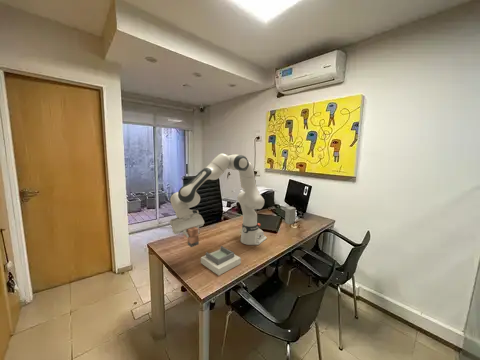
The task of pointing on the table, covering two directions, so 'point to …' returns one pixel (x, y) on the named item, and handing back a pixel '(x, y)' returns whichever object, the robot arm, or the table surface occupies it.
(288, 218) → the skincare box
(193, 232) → the block
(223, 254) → the bay dock
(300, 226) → the table surface
